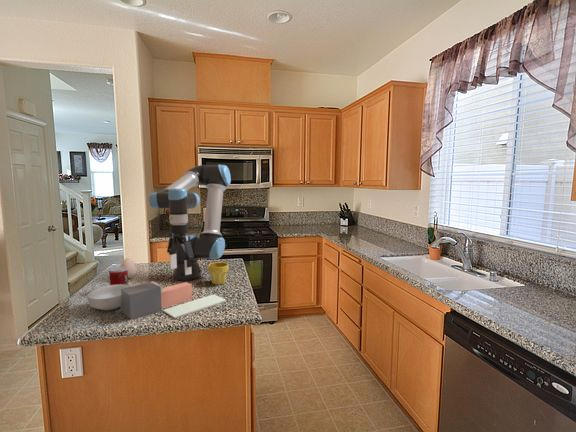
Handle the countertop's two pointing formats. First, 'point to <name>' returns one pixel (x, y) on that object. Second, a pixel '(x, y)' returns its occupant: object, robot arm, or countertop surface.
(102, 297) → the cereal bowl
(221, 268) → the plant pot
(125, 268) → the canned food
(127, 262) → the egg
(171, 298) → the long pink block
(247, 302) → the countertop surface
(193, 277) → the robot arm
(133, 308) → the grey block
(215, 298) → the pale green flat board
